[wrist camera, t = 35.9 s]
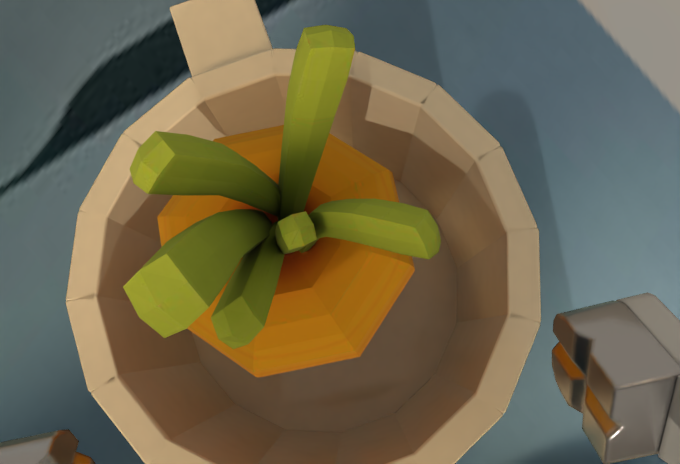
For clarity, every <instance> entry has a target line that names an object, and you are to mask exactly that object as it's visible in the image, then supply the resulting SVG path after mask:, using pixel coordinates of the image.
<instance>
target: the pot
mask: <svg viewBox="0 0 680 464" xmlns="http://www.w3.org/2000/svg"><path fill="white" fill-rule="evenodd" d="M170 12H171V15H172V18H173V21H174V24H175V27H176V30H177V33H178V36H179V39H180V42H181V45H182V48H183V51H184V54H185V57H186V60H187V63H188V66H189V69H190V72H191V75H192V78H190V77H189V78H188V79H186V80H185V81H184V82H183V83H182V84H180V85H179V86H178V87H177V88H176V89H174V90H173V91H172V92H171V93H169V94H168V95H167V96H166V97H165V98H163V99H162V100H161V101H160V102H159V103H157V104H156V105H155V106H154V107H153V108H151V109H150V110H149V111H148V112H147V113H145V114H144V115H143V116H142V117H141V118H139V119H138V120H137V121H136V122H134V123H133V124H132V125H131V126H130V127H128V128H127V129H126V130H125V131H124V134H121V136H120V138H119V140H118V141H117V143H116V145H115V147H114V148H113V150H112V152H111V154H110V155H109V157H108V159H107V161H106V162H105V164H104V166H103V168H102V170H101V171H100V173H99V175H98V177H97V178H96V180H95V182H94V184H93V185H92V187H91V189H90V191H89V192H88V194H87V196H86V198H85V199H84V201H83V203H82V205H81V207H80V208H79V210H80V211H79V212H78V217H77V224H76V231H75V238H74V245H73V252H72V259H71V266H70V273H69V280H68V287H67V294H66V300H67V301H66V306H67V310H68V314H69V318H70V322H71V326H72V330H73V334H74V337H75V341H76V345H77V349H78V353H79V357H80V361H81V365H82V369H83V373H84V376H85V380H86V384H87V388H88V391H89V392H91V394H92V396H93V397H94V399H95V400H96V401H97V402H98V404H99V405H100V406H101V408H102V409H103V410H104V411H105V413H106V414H107V415H108V417H109V418H110V419H111V420H112V422H113V423H114V424H115V426H116V427H117V428H118V429H119V431H120V432H121V433H122V435H123V436H124V437H125V438H126V440H127V441H128V442H129V444H130V445H131V446H132V448H133V449H134V450H135V451H136V453H137V454H138V455H139V457H140V458H141V459H142V460H143V462H144V463H145V464H455V463H456V462H457V461H458V460H459V459H460V458H461V457H462V456H463V455H464V454H465V453H466V452H467V451H468V450H469V449H470V448H471V447H472V446H473V445H474V444H475V443H476V442H477V441H478V440H479V439H480V438H481V437H482V436H483V435H484V434H485V433H486V432H487V431H488V430H489V429H490V428H491V427H492V426H493V425H494V424H495V423H496V422H497V421H498V420H499V419H500V418H501V417H502V416H503V413H505V412H506V410H507V407H508V405H509V402H510V400H511V397H512V395H513V392H514V390H515V387H516V385H517V382H518V380H519V377H520V375H521V372H522V370H523V367H524V365H525V362H526V360H527V357H528V355H529V352H530V350H531V347H532V345H533V342H534V340H535V337H536V335H537V332H538V330H539V327H540V322H541V297H540V255H539V229H538V228H537V224H536V222H535V219H534V217H533V215H532V213H531V210H530V208H529V206H528V204H527V201H526V199H525V197H524V195H523V192H522V190H521V188H520V186H519V184H518V181H517V179H516V177H515V175H514V172H513V170H512V168H511V166H510V163H509V161H508V159H507V157H506V154H505V152H504V150H503V148H502V147H501V146H500V143H499V142H498V141H497V140H496V139H495V138H494V137H493V136H492V135H491V134H490V133H489V132H488V131H487V130H485V129H484V128H483V127H482V126H481V125H480V124H479V123H478V122H477V121H476V120H475V119H474V118H473V117H472V116H471V115H470V114H469V113H468V112H467V111H466V110H465V109H464V108H463V107H462V106H461V105H460V104H458V103H457V102H456V101H455V100H454V99H453V98H452V97H451V96H450V95H449V94H448V93H447V92H446V91H445V90H444V89H443V88H442V87H441V86H440V85H437V84H436V83H435V82H432V81H430V80H428V79H425V78H423V77H420V76H418V75H415V74H413V73H411V72H408V71H406V70H403V69H401V68H398V67H396V66H394V65H391V64H389V63H386V62H384V61H381V60H379V59H377V58H374V57H372V56H369V55H367V54H364V53H362V52H358V53H357V51H354V55H353V59H352V63H351V67H350V72H349V76H348V79H347V82H346V85H345V88H344V91H343V94H342V97H341V100H340V103H339V106H338V108H337V111H336V114H335V117H334V120H333V123H332V126H331V129H330V132H329V133H330V134H332V135H333V136H335V137H337V138H338V139H340V140H341V141H343V142H345V143H346V144H348V145H350V146H351V147H353V148H354V149H356V150H358V151H359V152H361V153H363V154H364V155H366V156H367V157H369V158H371V159H372V160H374V161H375V162H377V163H379V164H380V165H382V166H384V167H385V168H387V169H388V170H390V171H391V172H392V173H393V177H394V181H395V186H396V190H397V194H398V199H399V203H405V204H408V205H412V206H415V207H419V208H422V209H426V210H428V211H429V212H430V214H431V216H432V217H433V219H434V220H435V222H436V224H437V225H438V229H439V233H440V238H441V244H440V248H439V252H438V253H437V254H436V255H434V256H433V257H432V258H431V259H424V258H418V257H413V256H412V259H413V264H414V268H415V272H414V273H413V275H412V276H411V278H410V279H409V281H408V283H407V284H406V286H405V287H404V289H403V290H402V292H401V293H400V295H399V297H398V298H397V300H396V301H395V303H394V304H393V306H392V308H391V309H390V311H389V312H388V314H387V315H386V317H385V318H384V320H383V322H382V323H381V325H380V326H379V328H378V329H377V331H376V332H375V334H374V336H373V337H372V339H371V340H370V342H369V343H368V345H367V347H366V348H365V350H364V351H363V353H362V354H361V356H360V357H357V358H352V359H347V360H342V361H337V362H333V363H328V364H323V365H318V366H313V367H308V368H304V369H299V370H294V371H289V372H284V373H279V374H274V375H270V376H265V377H260V378H259V377H255V376H254V375H252V374H251V373H249V372H248V371H247V370H245V369H244V368H242V367H241V366H240V365H238V364H237V363H235V362H234V361H232V360H231V359H230V358H228V357H227V356H225V355H224V354H223V353H221V352H220V351H218V350H217V349H215V348H214V347H213V346H211V345H210V344H208V343H207V342H205V341H204V340H203V339H201V338H200V337H198V336H197V335H196V334H194V333H193V332H191V331H190V330H188V329H185V330H182V331H180V332H178V333H175V334H173V335H171V336H168V337H166V338H163V337H162V336H161V335H160V334H159V333H157V332H156V331H155V330H154V329H153V328H151V327H150V326H149V325H148V324H147V323H145V322H144V321H143V320H142V319H141V318H139V316H138V314H137V312H136V311H135V309H134V307H133V305H132V303H131V301H130V299H129V297H128V296H127V294H126V292H125V290H124V288H123V286H124V285H125V284H126V283H127V282H128V281H129V280H130V279H131V278H132V277H133V276H134V275H135V274H136V273H137V272H138V271H139V270H140V269H141V268H142V267H143V266H144V265H145V264H146V263H147V262H148V261H149V260H150V259H151V257H152V256H153V255H154V254H155V253H156V252H157V251H158V250H159V249H160V248H161V240H160V233H159V226H158V218H157V217H158V215H159V214H160V212H161V211H162V210H163V208H164V207H165V206H166V204H167V203H168V202H169V200H170V199H171V198H172V196H173V195H159V194H147V193H146V192H144V191H143V190H142V189H141V188H139V187H138V186H137V185H135V184H134V183H133V180H132V176H131V173H130V167H131V164H132V162H133V160H134V157H135V155H136V152H137V150H138V148H139V147H140V146H141V145H142V144H143V143H144V142H145V141H146V140H147V139H148V138H149V137H150V136H151V135H152V134H153V133H154V132H155V131H160V132H169V133H178V134H187V135H191V136H195V137H199V138H203V139H206V140H210V141H213V140H214V139H217V138H221V137H226V136H231V135H236V134H241V133H246V132H251V131H256V130H261V129H266V128H270V127H275V126H280V125H284V118H285V108H286V98H287V90H288V84H289V79H290V75H291V70H292V65H293V61H294V56H295V51H296V49H275V48H274V49H273V48H272V45H271V42H270V40H269V37H268V34H267V31H266V29H265V26H264V23H263V21H262V18H261V15H260V13H259V10H258V7H257V4H256V2H255V0H189V1H186V2H183V3H180V4H177V5H174V6H171V7H170Z"/></svg>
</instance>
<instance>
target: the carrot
mask: <svg viewBox="0 0 680 464" xmlns="http://www.w3.org/2000/svg"><path fill="white" fill-rule="evenodd" d="M354 51H355V43H354V36H353V35H352V34H351V33H350V32H349V31H348V29H347V28H342V27H336V26H330V25H321V26H314V27H307V28H304V30H303V32H302V35H301V38H300V41H299V43H298V46H297V49H296V51H295V56H294V61H293V65H292V70H291V75H290V79H289V84H288V90H287V98H286V108H285V118H284V125H280V126H275V127H270V128H266V129H261V130H256V131H251V132H246V133H241V134H236V135H231V136H226V137H221V138H217V139H214V140H213V141H210V140H206V139H203V138H199V137H195V136H191V135H187V134H178V133H169V132H160V131H155V132H154V133H153V134H152V135H151V136H150V137H149V138H148V139H147V140H146V141H145V142H144V143H143V144H142V145H141V146H140V147H139V148H138V150H137V152H136V155H135V157H134V160H133V162H132V164H131V167H130V173H131V176H132V180H133V183H134V184H135V185H137V186H138V187H139V188H141V189H142V190H143V191H144V192H146V193H147V194H159V195H173V196H172V198H171V199H170V200H169V202H168V203H167V204H166V206H165V207H164V208H163V210H162V211H161V212H160V214H159V215H158V217H157V218H158V226H159V233H160V240H161V248H160V249H159V250H158V251H157V252H156V253H155V254H154V255H153V256H152V257H151V259H150V260H149V261H148V262H147V263H146V264H145V265H144V266H143V267H142V268H141V269H140V270H139V271H138V272H137V273H136V274H135V275H134V276H133V277H132V278H131V279H130V280H129V281H128V282H127V283H126V284H125V285H124V286H123V288H124V290H125V292H126V294H127V296H128V297H129V299H130V301H131V303H132V305H133V307H134V309H135V311H136V312H137V314H138V316H139V318H141V319H142V320H143V321H144V322H145V323H147V324H148V325H149V326H150V327H151V328H153V329H154V330H155V331H156V332H157V333H159V334H160V335H161V336H162V337H163V338H166V337H168V336H171V335H173V334H175V333H178V332H180V331H182V330H185V329H188V330H190V331H191V332H193V333H194V334H196V335H197V336H198V337H200V338H201V339H203V340H204V341H205V342H207V343H208V344H210V345H211V346H213V347H214V348H215V349H217V350H218V351H220V352H221V353H223V354H224V355H225V356H227V357H228V358H230V359H231V360H232V361H234V362H235V363H237V364H238V365H240V366H241V367H242V368H244V369H245V370H247V371H248V372H249V373H251V374H252V375H254V376H255V377H259V378H260V377H265V376H270V375H274V374H279V373H284V372H289V371H294V370H299V369H304V368H308V367H313V366H318V365H323V364H328V363H333V362H337V361H342V360H347V359H352V358H357V357H360V356H361V354H362V353H363V351H364V350H365V348H366V347H367V345H368V343H369V342H370V340H371V339H372V337H373V336H374V334H375V332H376V331H377V329H378V328H379V326H380V325H381V323H382V322H383V320H384V318H385V317H386V315H387V314H388V312H389V311H390V309H391V308H392V306H393V304H394V303H395V301H396V300H397V298H398V297H399V295H400V293H401V292H402V290H403V289H404V287H405V286H406V284H407V283H408V281H409V279H410V278H411V276H412V275H413V273H414V272H415V268H414V264H413V259H412V256H413V257H418V258H424V259H431V258H432V257H433V256H434V255H436V254H437V253H438V252H439V248H440V244H441V238H440V233H439V229H438V225H437V224H436V222H435V220H434V219H433V217H432V216H431V214H430V212H429V211H428V210H426V209H422V208H419V207H415V206H412V205H408V204H405V203H399V199H398V194H397V190H396V186H395V181H394V177H393V173H392V172H391V171H390V170H388V169H387V168H385V167H384V166H382V165H380V164H379V163H377V162H375V161H374V160H372V159H371V158H369V157H367V156H366V155H364V154H363V153H361V152H359V151H358V150H356V149H354V148H353V147H351V146H350V145H348V144H346V143H345V142H343V141H341V140H340V139H338V138H337V137H335V136H333V135H332V134H330V133H329V132H330V129H331V126H332V123H333V120H334V117H335V114H336V111H337V108H338V106H339V103H340V100H341V97H342V94H343V91H344V88H345V85H346V82H347V79H348V76H349V72H350V67H351V63H352V59H353V55H354Z"/></svg>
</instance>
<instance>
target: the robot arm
mask: <svg viewBox="0 0 680 464" xmlns="http://www.w3.org/2000/svg"><path fill="white" fill-rule="evenodd" d="M553 332H554V334H555V335H556V337H557V338H558V340H559V342H558V344H557V345H556V346H555V347H554V349H553V350H552V367H553V371H554V375H555V380H556V382H557V385H558V387H559V389H560V391H561V393H562V395H563V397H564V399H565V400H566V402H567V404H568V405H569V406H570V407H572V408H574V409H576V410H577V411H579V412H581V413H583V424H582V429H583V431H584V432H585V434H586V436H587V437H588V439H589V441H590V442H591V444H592V446H593V447H594V449H595V451H596V452H597V454H598V456H599V457H600V459H601V461H602V462H603V464H610V463H615V462H620V461H625V460H630V459H635V458H639V457H644V456H649V455H654V454H659V455H658V457H659V458H661V459H662V460H664V461H665V462H667V463H668V464H680V321H679V320H678V318H677V317H676V316H675V315H674V314H673V313H672V312H671V311H670V310H669V309H668V308H667V307H666V306H665V305H664V304H663V303H662V302H661V301H660V300H659V299H658V298H657V297H656V296H655V295H652V294H650V293H643V294H639V295H635V296H631V297H627V298H622V299H618V300H616V301H609V302H605V303H601V304H596V305H592V306H588V307H584V308H580V309H576V310H572V311H568V312H564V313H560V314H557V315H556V317H555V319H554V323H553ZM78 442H79V441H78V440H77V439H76V437H75V436H74V435H73V434H72V433H71V432H70V430H69V429H68V430H58V431H53V432H48V433H43V434H38V435H34V436H29V437H24V438H19V439H14V440H9V441H4V442H1V443H0V464H95V462H94V461H93V460H92V458H91V457H89V456H86V455H84V454H81V453H79V452H76V449H77V446H78Z"/></svg>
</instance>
